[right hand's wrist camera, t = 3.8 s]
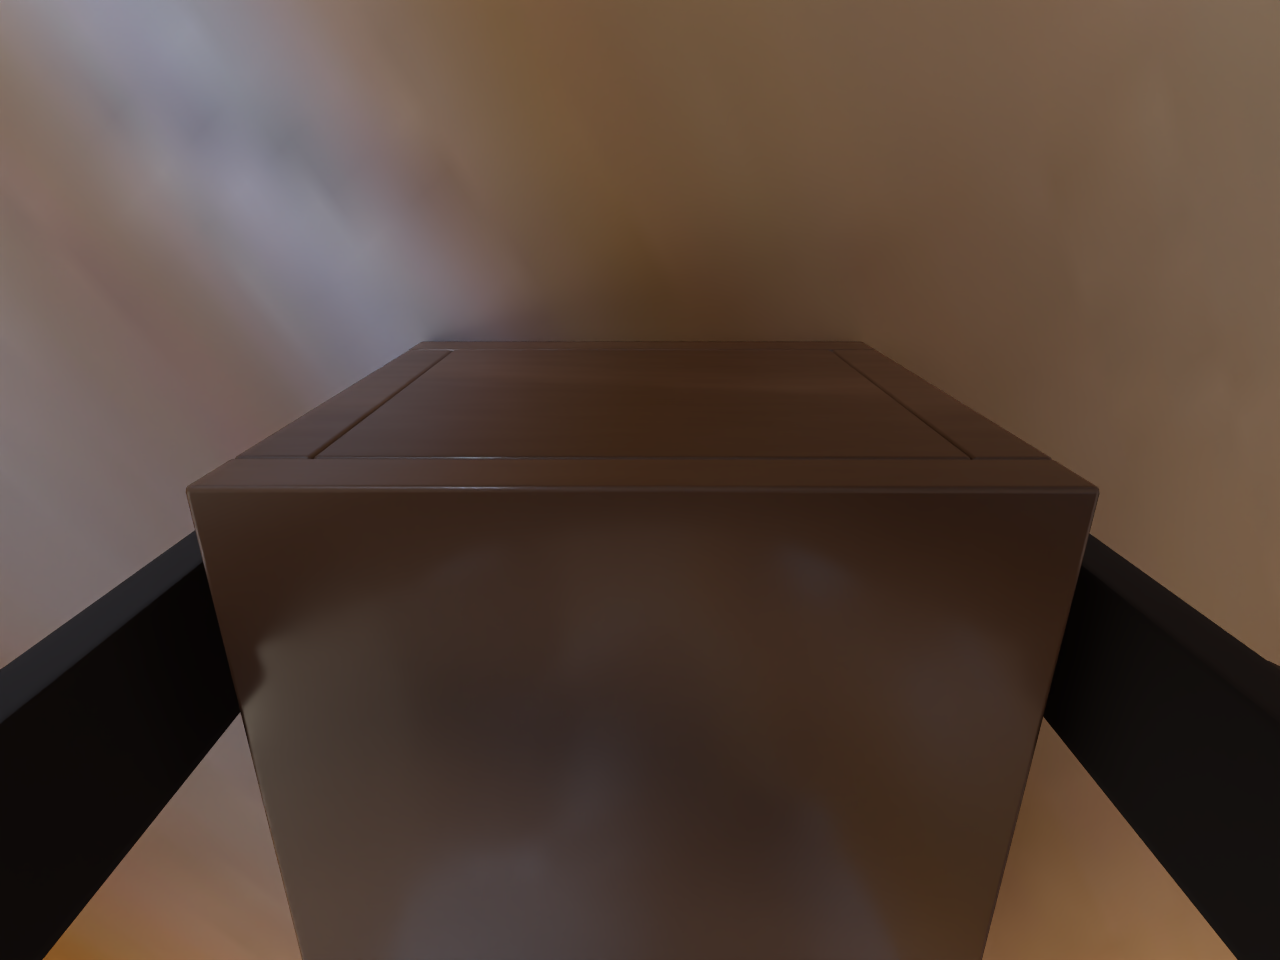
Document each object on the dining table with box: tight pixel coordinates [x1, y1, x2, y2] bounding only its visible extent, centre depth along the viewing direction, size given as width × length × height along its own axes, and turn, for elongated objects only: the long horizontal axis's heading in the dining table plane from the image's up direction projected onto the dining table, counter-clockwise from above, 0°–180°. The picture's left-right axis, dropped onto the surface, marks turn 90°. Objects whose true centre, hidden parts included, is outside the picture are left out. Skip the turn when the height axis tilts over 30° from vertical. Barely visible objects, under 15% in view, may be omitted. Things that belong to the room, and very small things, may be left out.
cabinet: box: [186, 342, 1099, 960], centre depth 16 cm, size 20×10×9 cm, turn 0°
